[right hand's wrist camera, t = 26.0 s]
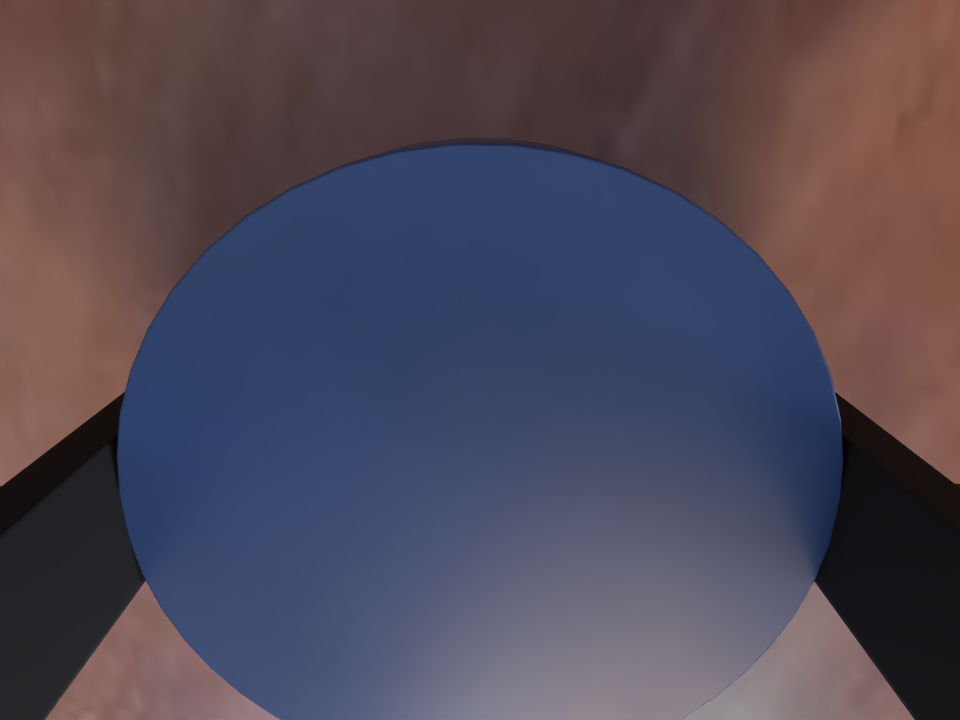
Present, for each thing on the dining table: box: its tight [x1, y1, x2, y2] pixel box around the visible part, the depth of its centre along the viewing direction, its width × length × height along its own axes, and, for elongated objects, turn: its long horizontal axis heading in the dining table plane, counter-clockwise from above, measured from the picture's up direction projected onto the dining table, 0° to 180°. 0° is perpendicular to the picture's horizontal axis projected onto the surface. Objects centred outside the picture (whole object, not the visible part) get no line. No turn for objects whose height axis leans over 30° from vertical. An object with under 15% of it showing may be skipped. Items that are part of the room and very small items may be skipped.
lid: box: [116, 138, 844, 720], centre depth 11 cm, size 11×11×2 cm
